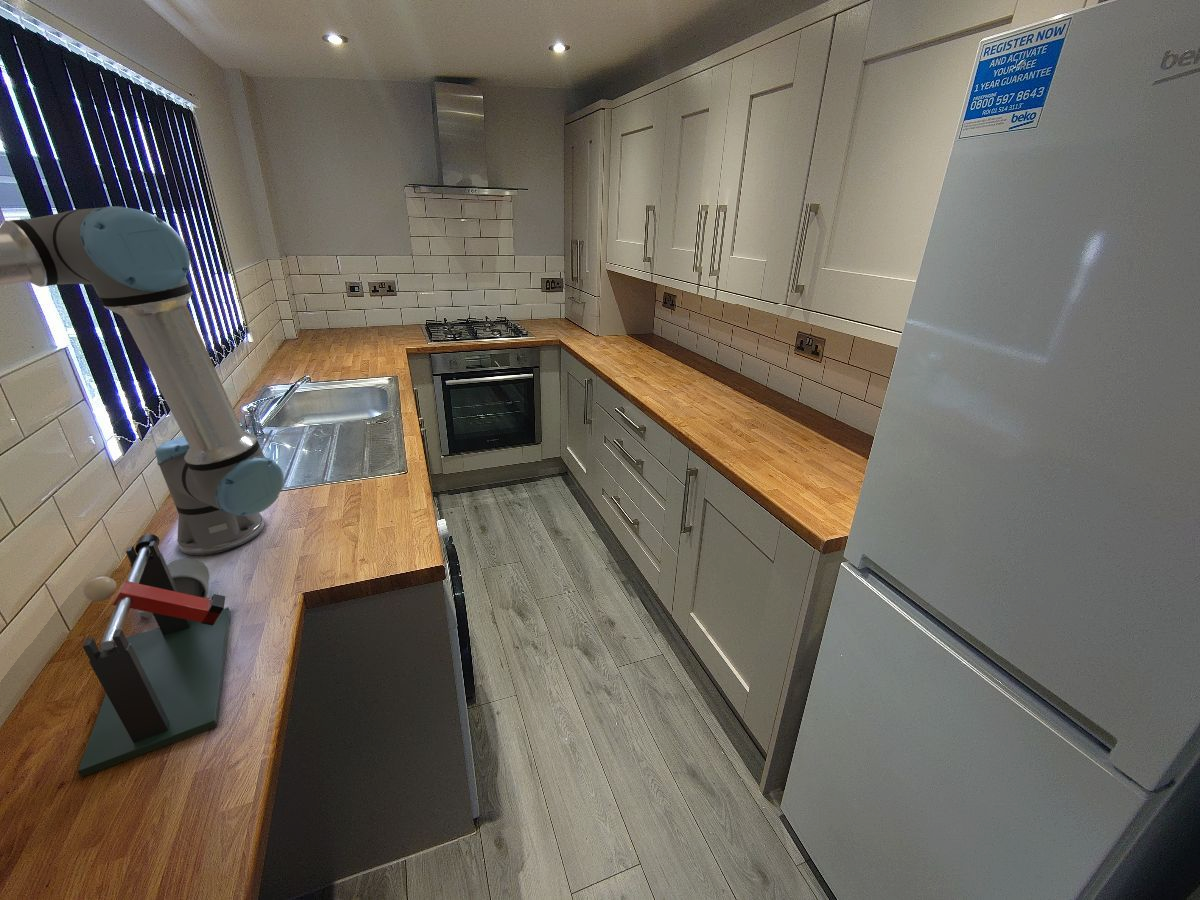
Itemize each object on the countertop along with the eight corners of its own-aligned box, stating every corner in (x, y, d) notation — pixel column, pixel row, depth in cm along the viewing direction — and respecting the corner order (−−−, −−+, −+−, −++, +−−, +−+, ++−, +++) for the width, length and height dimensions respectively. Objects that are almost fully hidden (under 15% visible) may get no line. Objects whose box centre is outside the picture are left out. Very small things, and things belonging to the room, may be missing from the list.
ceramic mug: (215, 581, 99) (201, 547, 96) (214, 605, 93) (199, 570, 90) (144, 603, 94) (127, 568, 91) (138, 630, 88) (119, 593, 84)
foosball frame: (128, 642, 85) (84, 553, 78) (230, 612, 91) (197, 527, 84) (81, 777, 64) (14, 672, 57) (217, 726, 70) (172, 626, 63)
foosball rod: (220, 569, 90) (107, 540, 80) (231, 551, 90) (119, 520, 80) (204, 672, 69) (49, 650, 60) (218, 649, 69) (65, 624, 60)
